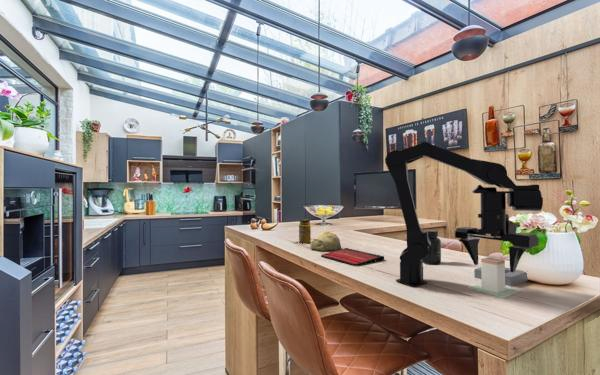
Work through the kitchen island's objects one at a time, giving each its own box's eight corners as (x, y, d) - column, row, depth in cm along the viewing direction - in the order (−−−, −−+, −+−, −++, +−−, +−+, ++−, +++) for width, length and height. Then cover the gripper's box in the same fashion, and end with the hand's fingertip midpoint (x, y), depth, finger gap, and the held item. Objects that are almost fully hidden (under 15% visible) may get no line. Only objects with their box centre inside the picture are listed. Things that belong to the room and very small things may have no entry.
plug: (497, 292, 79) (497, 261, 79) (481, 288, 83) (481, 259, 83) (505, 290, 81) (504, 259, 81) (489, 285, 85) (488, 257, 85)
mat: (503, 300, 76) (503, 297, 76) (467, 289, 84) (467, 287, 84) (520, 293, 81) (520, 290, 81) (485, 284, 88) (485, 282, 88)
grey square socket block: (510, 287, 85) (510, 277, 85) (474, 279, 93) (474, 269, 93) (527, 281, 90) (527, 271, 90) (491, 274, 99) (491, 264, 99)
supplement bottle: (443, 265, 110) (442, 232, 110) (423, 264, 111) (422, 231, 111) (438, 260, 117) (438, 229, 117) (419, 260, 118) (419, 229, 118)
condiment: (314, 242, 159) (313, 219, 159) (302, 244, 153) (302, 220, 153) (304, 240, 164) (304, 218, 164) (292, 243, 158) (292, 219, 159)
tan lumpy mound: (342, 247, 146) (341, 230, 146) (340, 252, 134) (339, 234, 134) (313, 246, 149) (312, 230, 149) (308, 251, 137) (308, 233, 137)
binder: (346, 247, 136) (384, 255, 119) (346, 252, 136) (384, 261, 119) (318, 253, 127) (355, 263, 109) (318, 259, 127) (355, 270, 109)
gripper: (548, 210, 78) (548, 271, 78) (474, 207, 94) (475, 258, 94) (527, 213, 73) (528, 278, 72) (453, 208, 88) (453, 262, 88)
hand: (493, 268), depth 82 cm, fingers open, 9 cm apart
